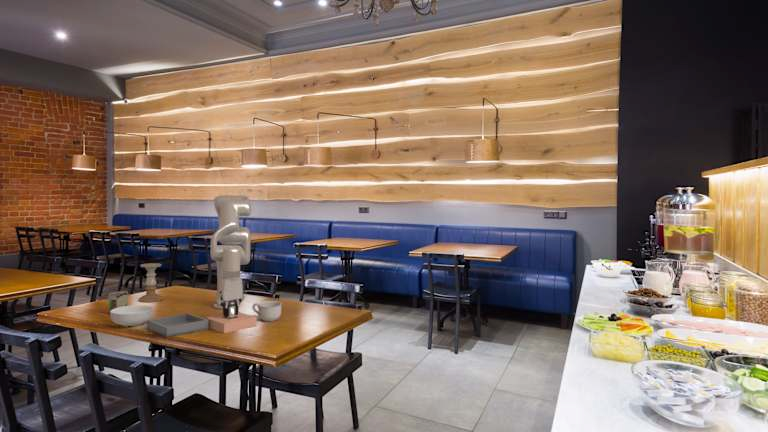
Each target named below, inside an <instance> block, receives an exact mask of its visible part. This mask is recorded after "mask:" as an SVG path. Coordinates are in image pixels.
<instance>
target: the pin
mask: <svg viewBox="0 0 768 432" xmlns="http://www.w3.org/2000/svg"><path fill="white" fill-rule="evenodd" d="M228 308H229V316H228V317H226V319H233V318H235V313H236V301H234V300H231V301H229V302H228Z"/></svg>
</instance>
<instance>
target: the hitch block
mask: <svg viewBox="0 0 768 432" xmlns="http://www.w3.org/2000/svg"><path fill="white" fill-rule="evenodd" d="M204 319H207V320H208V329H211V330H214V331H217V332H220V333H223V334H227V333H232V332H235V331H240V330H245V329H248V328H253V327H257V323H258V322H257V317H256V316H254V315H252V314H251V315H250V314H247V313H243V312H240V311H238V315H235V318H233V319H226V317H225V316H224V315H223V313H221V314H215V315H211V316H210V315H209V316H205V317H204Z"/></svg>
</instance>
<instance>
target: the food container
mask: <svg viewBox="0 0 768 432" xmlns="http://www.w3.org/2000/svg"><path fill="white" fill-rule="evenodd" d="M128 296H129V292H128V290H125V291H124V290H123V291H121V290H120V291H114V292H111V293H108V295H107V300H108V302H109V312H110V311H111V310H112V309H115V308H118V307H124V306H128Z"/></svg>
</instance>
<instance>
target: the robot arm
mask: <svg viewBox="0 0 768 432" xmlns="http://www.w3.org/2000/svg"><path fill="white" fill-rule="evenodd" d="M213 206H214V210H215V212H216V214H217V218H218V229H217V230H216V231H215V232H214V233H213V235H212V236H211V239H210V258H211V260H212V261H213V262H216V268H217V269H216V272H217V274H216V279H217V280H216V281H217V282H216V283H217V284H216V290H217V292H216V301H215V303H214V304H213V308H215V309H220V310H222V314H223V315H224V316H225V317H228V316H229V308H228V302H229V301H231V300H234V301H236V313H235V315H238V312H239V307H240V305H241V303H242V302H243V301H244V300H245V299H246V296H245V295H244V286H243V280H242V279H243V278H242V277H241V275H242V274H243V271H242V270H241V266H242V265H243V266H244V265H248V264H249V263H250V261H251V232H250V229H249V228H248V227H246V226H240V218H239V217H249V216H251V213H252V203H251V201H250V198H249V196H246V195H234V194H233V195H229V194H224V195H223V194H222V195H221V194H220V195H218V196H215V197H214V198H213ZM218 242H219V243H220V244H221V245H220V244H219V245H217V244H218Z"/></svg>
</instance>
